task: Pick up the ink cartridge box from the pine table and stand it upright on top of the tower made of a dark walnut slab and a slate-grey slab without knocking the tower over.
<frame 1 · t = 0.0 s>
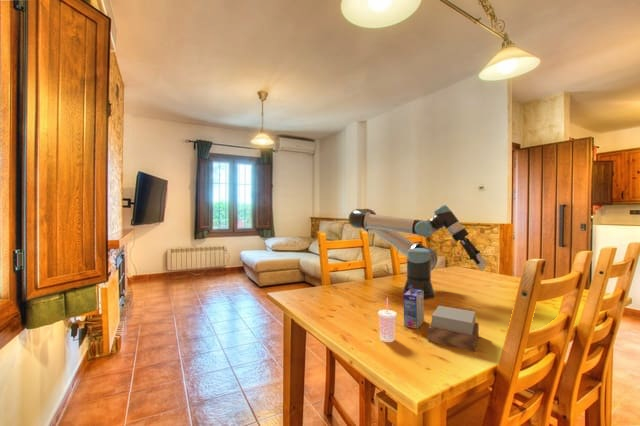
hand: (484, 267, 148), 15 cm above the table, tool tilted 35°, fingers open, 13 cm apart
walnut base slab: (453, 339, 101), on the table, touching grey top slab
beverage cup: (387, 339, 100), on the table
ink cartridge box: (413, 323, 114), on the table
grey top slab: (453, 325, 101), point 4 cm above the table, touching walnut base slab
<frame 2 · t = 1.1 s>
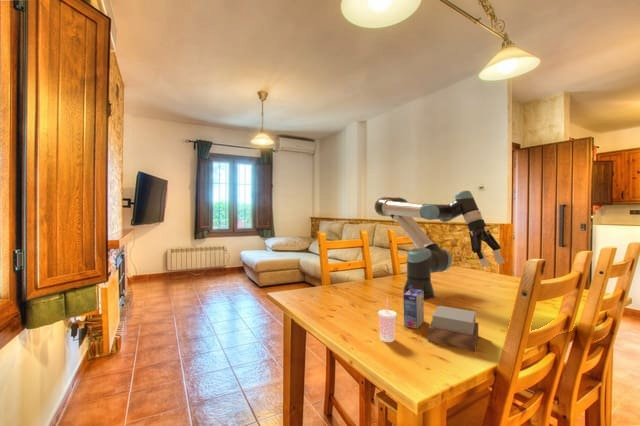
hand: (494, 265, 132), 19 cm above the table, tool tilted 25°, fingers open, 13 cm apart
nothing on the table moved.
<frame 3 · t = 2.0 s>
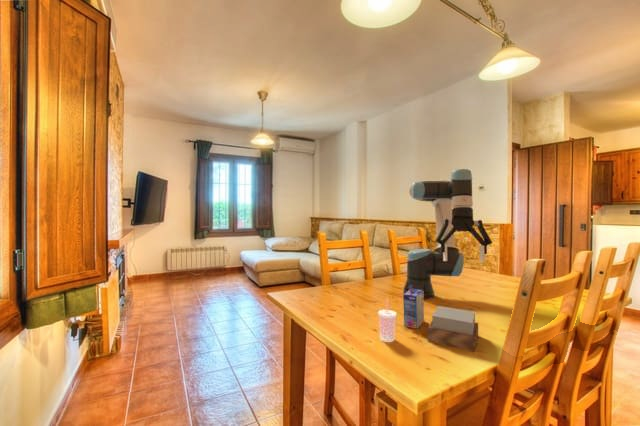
hand: (463, 262, 115), 24 cm above the table, tool pointing down, fingers open, 13 cm apart
nothing on the table moved.
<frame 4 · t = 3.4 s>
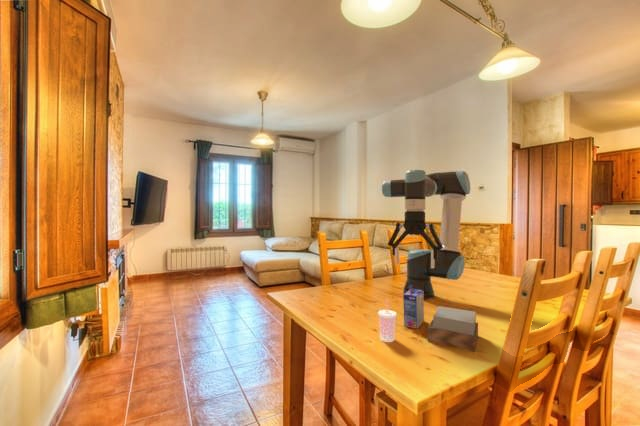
hand: (414, 265, 114), 22 cm above the table, tool pointing down, fingers open, 13 cm apart
nothing on the table moved.
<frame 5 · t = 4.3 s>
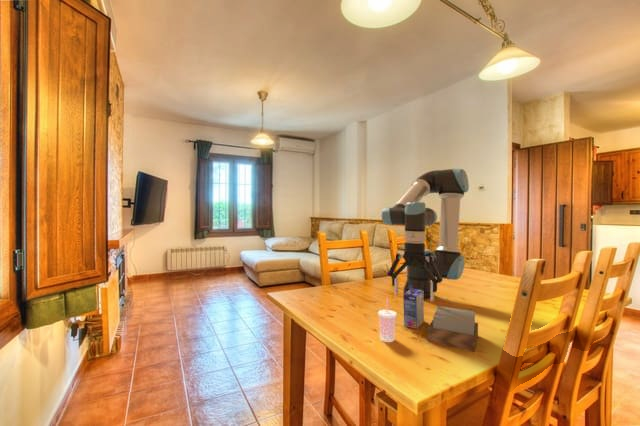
hand: (413, 297, 114), 10 cm above the table, tool pointing down, fingers open, 13 cm apart
walnut base slab: (453, 339, 101), on the table
grey top slab: (454, 325, 101), point 4 cm above the table
everything else where it was.
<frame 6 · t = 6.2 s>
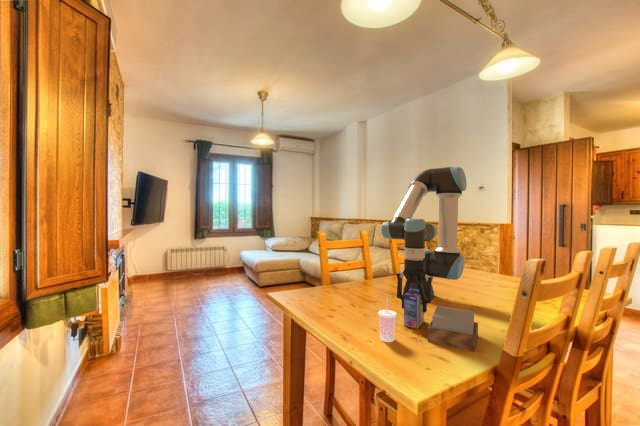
hand: (413, 318, 114), 2 cm above the table, tool pointing down, fingers closed on ink cartridge box, 5 cm apart
ink cartridge box: (413, 323, 114), on the table, touching gripper
everything else where it was.
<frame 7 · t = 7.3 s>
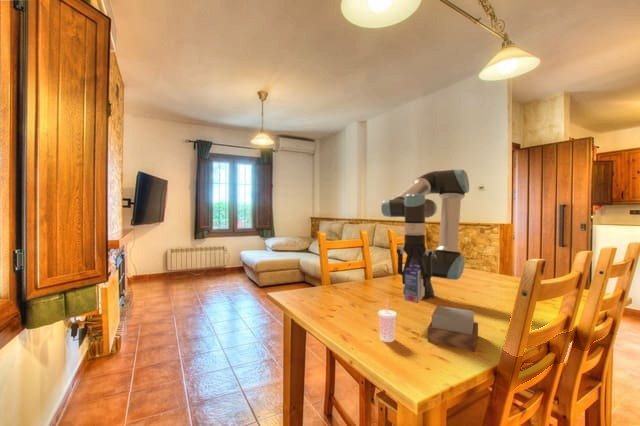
hand: (414, 293, 114), 11 cm above the table, tool pointing down, fingers closed on ink cartridge box, 5 cm apart
walnut base slab: (453, 339, 101), on the table, touching grey top slab
ink cartridge box: (414, 298, 114), point 9 cm above the table, touching gripper
grey top slab: (453, 325, 101), point 5 cm above the table, touching walnut base slab
everything else where it was.
when the fingers open (12 cm above the table, at t = 11.7 s): ink cartridge box drops 2 cm, point 8 cm above the table.
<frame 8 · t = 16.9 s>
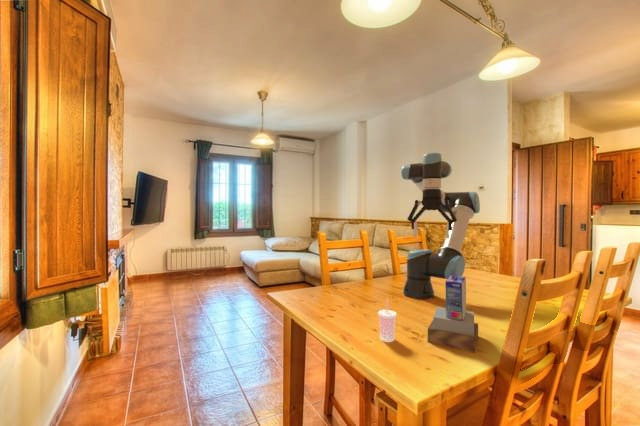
hand: (431, 237, 130), 32 cm above the table, tool pointing down, fingers open, 13 cm apart
ink cartridge box: (455, 315, 100), point 8 cm above the table
at the end: ink cartridge box inside the target area on the grey top slab (0.5 cm from its centre), point 3.8 cm above the grey top slab's base; ink cartridge box tilted 0°; grey top slab 0.1 cm off-centre on the walnut base slab, point 5.0 cm above the walnut base slab's base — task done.
